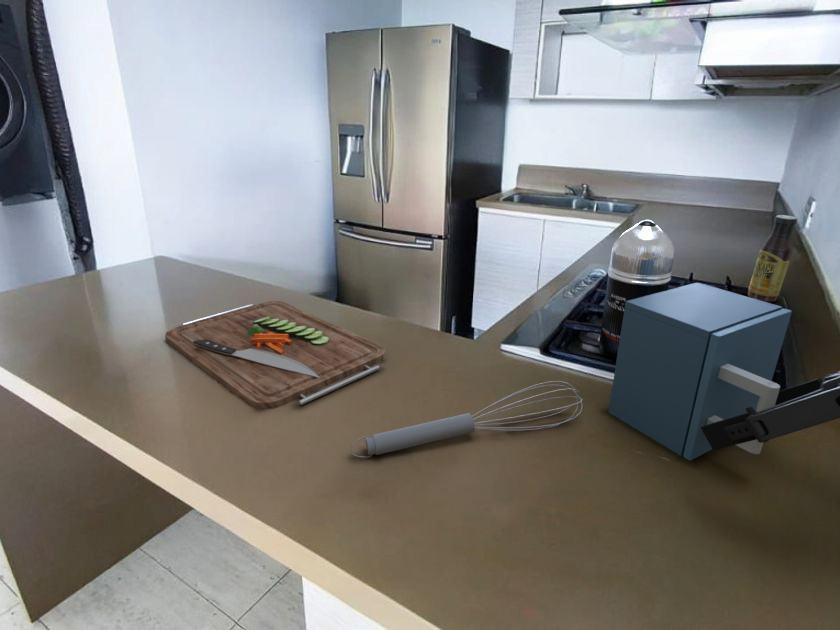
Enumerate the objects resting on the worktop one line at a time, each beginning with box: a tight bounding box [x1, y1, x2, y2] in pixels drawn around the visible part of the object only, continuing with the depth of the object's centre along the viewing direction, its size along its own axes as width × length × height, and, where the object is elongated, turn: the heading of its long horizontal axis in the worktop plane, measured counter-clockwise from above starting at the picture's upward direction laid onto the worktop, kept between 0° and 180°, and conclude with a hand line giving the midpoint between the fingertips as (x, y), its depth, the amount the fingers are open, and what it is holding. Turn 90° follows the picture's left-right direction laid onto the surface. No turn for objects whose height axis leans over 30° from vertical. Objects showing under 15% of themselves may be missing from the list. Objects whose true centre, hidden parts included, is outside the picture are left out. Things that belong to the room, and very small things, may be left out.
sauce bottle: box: [747, 214, 798, 303], centre depth 117 cm, size 7×6×20 cm
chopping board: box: [164, 300, 386, 410], centre depth 97 cm, size 45×27×3 cm, turn 46°
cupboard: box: [608, 281, 783, 457], centre depth 71 cm, size 12×16×18 cm
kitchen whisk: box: [350, 380, 584, 458], centre depth 69 cm, size 6×34×6 cm, turn 106°
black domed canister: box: [598, 219, 676, 361], centre depth 90 cm, size 10×10×25 cm
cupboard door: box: [682, 308, 793, 461], centre depth 63 cm, size 7×16×18 cm, turn 120°
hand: (742, 420), depth 60 cm, fingers open, 13 cm apart
